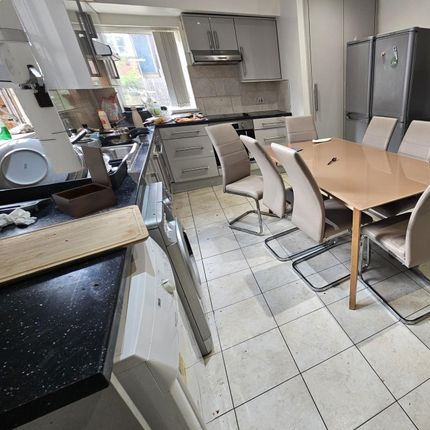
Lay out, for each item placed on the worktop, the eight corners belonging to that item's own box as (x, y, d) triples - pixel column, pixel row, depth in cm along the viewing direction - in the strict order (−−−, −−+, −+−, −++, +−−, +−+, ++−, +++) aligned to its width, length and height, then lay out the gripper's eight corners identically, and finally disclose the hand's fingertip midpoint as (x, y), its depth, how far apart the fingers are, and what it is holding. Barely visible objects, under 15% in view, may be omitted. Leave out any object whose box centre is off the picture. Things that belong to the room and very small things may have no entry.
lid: (98, 147, 93) (113, 146, 97) (80, 145, 99) (95, 143, 103) (110, 186, 99) (124, 183, 102) (92, 182, 105) (106, 179, 108)
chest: (77, 218, 92) (68, 200, 89) (60, 211, 98) (51, 194, 95) (118, 204, 102) (111, 187, 99) (100, 198, 108) (93, 182, 105)
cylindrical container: (86, 169, 92) (51, 88, 81) (59, 175, 87) (19, 89, 76) (77, 167, 96) (43, 89, 85) (51, 172, 90) (11, 90, 79)
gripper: (-20, 40, 76) (14, 108, 84) (2, 33, 68) (37, 108, 76) (17, 43, 82) (45, 106, 90) (40, 36, 74) (69, 106, 82)
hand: (41, 106), depth 83 cm, fingers closed on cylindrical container, 7 cm apart
